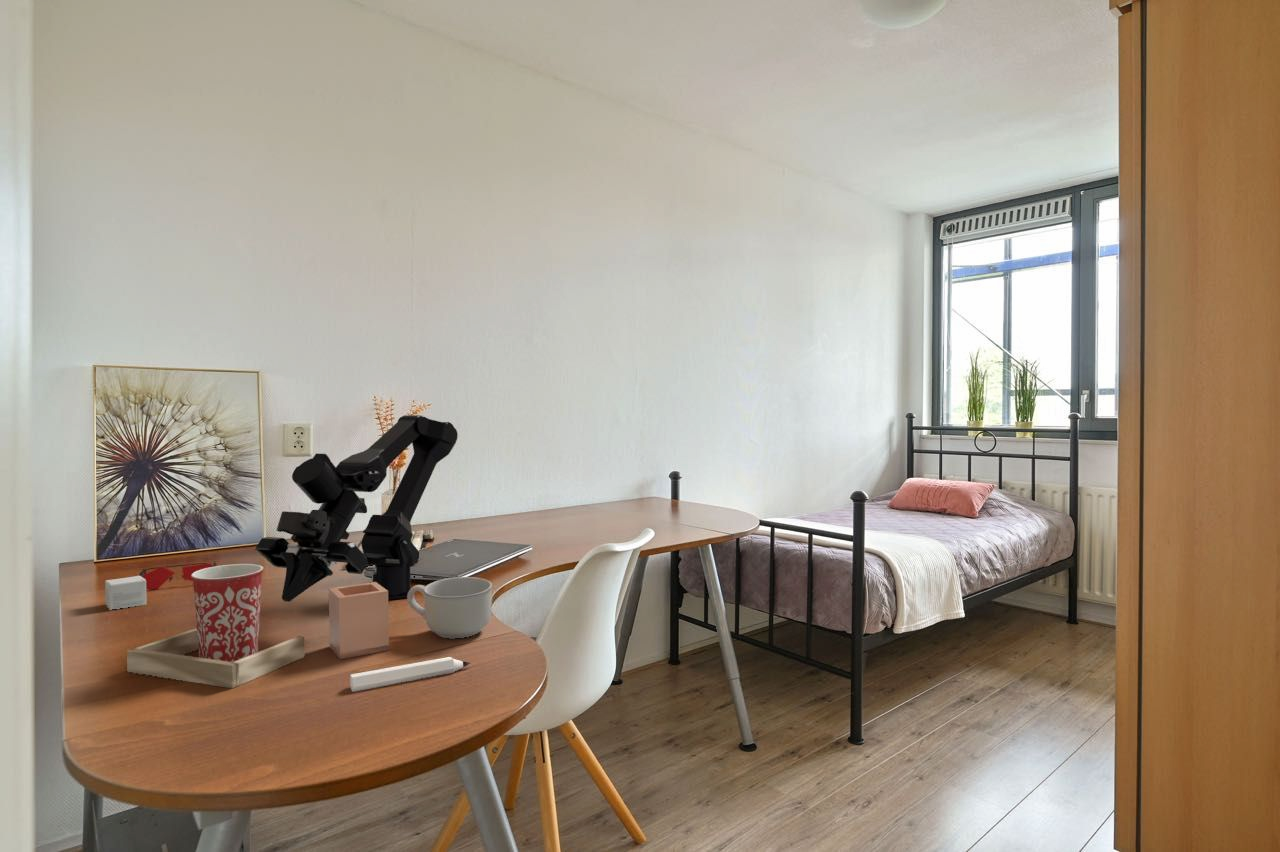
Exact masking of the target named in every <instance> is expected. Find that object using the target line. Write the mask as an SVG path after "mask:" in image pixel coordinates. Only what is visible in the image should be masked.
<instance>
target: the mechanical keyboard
mask: <svg viewBox="0 0 1280 852" xmlns="http://www.w3.org/2000/svg"><path fill="white" fill-rule="evenodd" d="M412 534H413V536H412V539H411V542H412V543H413V545H414V546H415V547H416V548H417V550H418V551H419V550H420V549H422V548H425V547H427V546H430V545H433V546H434V542H435V537H434V531H433V529H428V530H426V531H425V532H424V530H419V531H416V532H415V531H414V530H412ZM361 542H362V540H360V541H359V542H358V544H357V547H358V548H359V550H360V551H361V552H362V553H363V549H362V543H361ZM363 554H364V553H363ZM368 566H373V565H366V567H368ZM366 567H365V568H366Z"/></svg>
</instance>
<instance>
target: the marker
mask: <svg viewBox="0 0 1280 852" xmlns="http://www.w3.org/2000/svg"><path fill="white" fill-rule="evenodd" d="M471 664H472V662H469V661H463V660H458V659H455V658H453V657H452V656H448V657H442V658H437V659H429V660H424V661H420V662H413V663H408V664H402V665H396V666H391V667H385V668H379V669H375V670H367V671H363V672H359V673H358V672H357V673H351V674H350V678H349V682H350V683H349V684H350V690H351V691H352V692H353V693H354V692H359V691H363V690H364V691H365V690H369V689H374V688H375V689H376V688H380V687H384V686H385V687H386V686H390V685H396V683H397V684H400V683H401V682H402V683H405V682H406V681H407V682H412V681H416V680H417V679H418V680H422V679H421V678H423V679H427V678H426V677H428V678H433V677H438V676H437V675H439V676H443V674H444V675H448V674H453V673H456V672H457V671H459V670H460V669H463V668H465V667H467V666H469V665H471ZM455 671H456V672H455ZM432 676H433V677H432ZM418 680H417V681H418ZM407 682H406V683H407Z"/></svg>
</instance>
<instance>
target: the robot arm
mask: <svg viewBox="0 0 1280 852" xmlns="http://www.w3.org/2000/svg"><path fill="white" fill-rule="evenodd" d="M458 436H459V435H458V430H457V428H455V426H454V425H453V424H452V422H449V421H438V420H435V419H431V418H428V417H426V416H423V415H420V414H419V415H414V414H413V415H409V414H407V415H403V416H400V417H399V418H398V420H397V422H396V423H395V424H394V425H393V426H391V428H389V429H388V430H387V431H386V432H385V433H384V434H382V436H380V437H379V438H378V439H377V440H376V441H374V443H373V444H372V445H370V446H369V447H368V448H367V449H365V450H364V451H361V452H357V453H354V454H352V455H349V456H348V457H346V458H345V459H343V460H341V461H340V462H339V463H337V465H336V466H335V465H334V463H333V462H332V460H331V459H330V457H329V455H327V453H317V452H316V453H315V454H314V456H313V457H312V458H309V459H307V460H305V461H303V462H302V463H300V464H299V466H296V467H295V469H294V470H293V472H292V476H291V478H292V481H293V482H294V483H295V484H296V486H297V487H299V489H300V491H302V492H303V493H304V494H305V495H306V496H307V498H309V500H311V502H313V503H314V504H321V505H320V506H319V508H318V509H312V510H311V511H310V512H301V511H281V514H280V518H279V519H278V523H277V527H276V532H279V533H282V532H283V533H286V534H289V535H290V536H291V535H292V536H291V537H290V539H291V540H292V542H294V543H297V544H294V543H293V544H291V543H289V542H288V540H287V539H285V538H284V537H279V536H278V537H277V536H276V537H275V536H266V537H262V538H261V539H260V540H259V542H258V543H257V545H256V546H255V550H256V551H257V552H258V553H259V554H260V555H261V556H263V558H264V559H266V561H268V562H269V563H270V564H271V565H272V566H274V567H276V568H281V569H282V568H285V571H286V572H285V577H284V583H283V590H282V594H281V599H282V601H284V602H286V603H287V602H288V603H290V602H291V601H293V600H294V599H295V598H297V597H298V596H299V595H300V594H302V593H304V592H305V591H307V590H308V589H309V588H311V587H313V586H314V585H316V584H317V583H319V582H320V581H321V580H324V579H325V578H327V577H330V576H333V574H334V572H333V571H332V569H333V568H334V566H335V565H336V564H337V563H347V564H346V565H345V570H346V572H347V573H348V574H354V575H362V574H363V573H364V571H365V570H366V569H365V567H366V565H375V569H374V571H372V572H371V582H377V583H378V584H379V585H381V586H382V587H383V588H385V589H386V590H387V591H388V600H396V599H406V598H407V594H408V592H409V590H410V589H411V588H412V587H411V567H413V566H415V564H418V563H419V561H418V559H419V551H418V550H417V548H416V547H415V546H414V545H413V543H412V542H411V539H412V536H413V534H412V531H413V530H412V525H411V521H412V519H413V516H414V515H415V512H416V509H418V505H419V504H420V501H421V499H422V496H423V494H424V492H425V490H426V487H427V485H428V484H429V481H430V479H431V477H432V474H433V472H434V470H435V468H436V466H437V464H438V463H439V462H440V461H442V460H443V459H444V458H446V457H447V456H449V455H450V453H451V452H452V450H453V449H454V447H455V445H456V443H457V441H458V438H459V437H458ZM411 444H412V449H413V455H412V457H411V460H410V461H409V463H408V465H407V467H406V470H405V472H404V474H403V476H402V477H401V480H400V482H399V484H398V486H397V488H396V491H395V492H394V494H393V496H392V499H391V501H390V503H389V505H388V507H387V509H386V511H385V512H384V513H383V514H372V515H371V517H370V518H369V521H368V523H367V526H366V527H365V529H364V530H363V531H362V533H363V536H362V538H361V543H362V549H363V553H364V554H363V553H362V552H361V551H360V550H359V548H358V545H356V544H355V543H354V542H353V541H352V542H350V541H341V540H348V539H349V537H350V533H349V532H348V531H347V530H348V527H349V526H350V525H351V523H352V521H353V519H354V517H355V515H356V514H367V513H368V508H367V504H366V502H365V497H360V496H359V495H358V494H357V493H372V492H373V493H374V492H375V491H376V490H378V488H379V487H380V486H381V484H382V483H383V481H384V480H385V478H386V477H387V473H388V471H387V469H388V467H389V466H390V465H391V464H392V463H393V462H394V461H395V460H396V459H397V458H398V457H399V456H400V455H401V454H403V452H404V451H405V450H407V448H408V447H409V446H410V445H411ZM356 492H357V493H356Z"/></svg>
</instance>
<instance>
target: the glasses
mask: <svg viewBox="0 0 1280 852" xmlns="http://www.w3.org/2000/svg"><path fill="white" fill-rule="evenodd" d="M215 566H218V565H217V562H216V561H215V562H213V563H208V562H207V563H206V562H199V563H188V564H178V565H168V566H164V565H163V566H157V567H149V568H145V569H144V568H143V569H142V571H141V572H140V573H139V575H138V576H141V577H142V578H144V579H145V580H146V590H149V591H153V590H152V589H157V590H159V588H160V587H162V586H163V585H164V584H165V583H166V582H167V581H168V580H169V581H168V582H169V583H170V582H171V581H172V580H173V578H174V576H173V575H174V574H175V572H174V571H173V570H171V569H168V568H175V567H176V568H177V567H181V569H182V575H181V577H182V578H183V579H184V581H186V580H187V581H190V582H193V580H192V578H191V575H192V573H194V572H196V571H198V570H201V569H205V568H209V567H215ZM149 570H151V571H149ZM147 571H148V572H147Z"/></svg>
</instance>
